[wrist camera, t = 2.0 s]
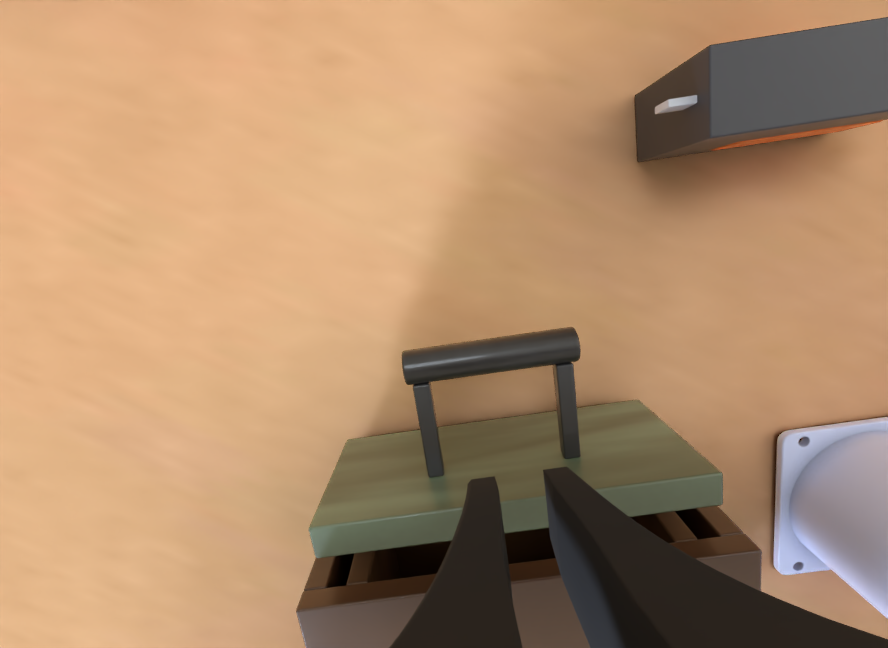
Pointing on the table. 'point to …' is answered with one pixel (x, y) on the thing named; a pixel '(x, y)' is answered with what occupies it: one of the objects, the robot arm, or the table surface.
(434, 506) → the drawer
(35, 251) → the table surface
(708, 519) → the cabinet
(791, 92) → the black block with tab
